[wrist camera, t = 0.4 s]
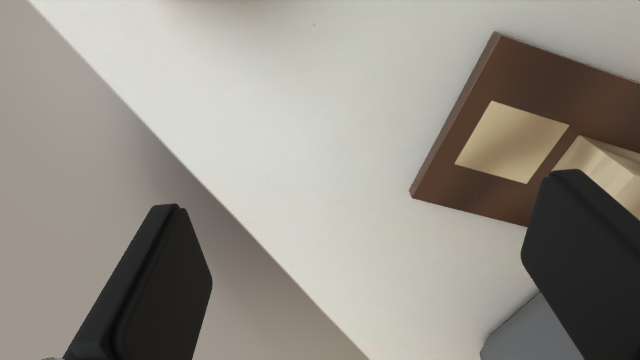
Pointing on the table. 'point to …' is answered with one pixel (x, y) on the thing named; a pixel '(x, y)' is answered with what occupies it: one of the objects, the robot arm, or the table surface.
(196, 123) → the table surface
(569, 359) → the alarm clock
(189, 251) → the robot arm
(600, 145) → the cream wooden block
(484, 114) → the word board
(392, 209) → the table surface
